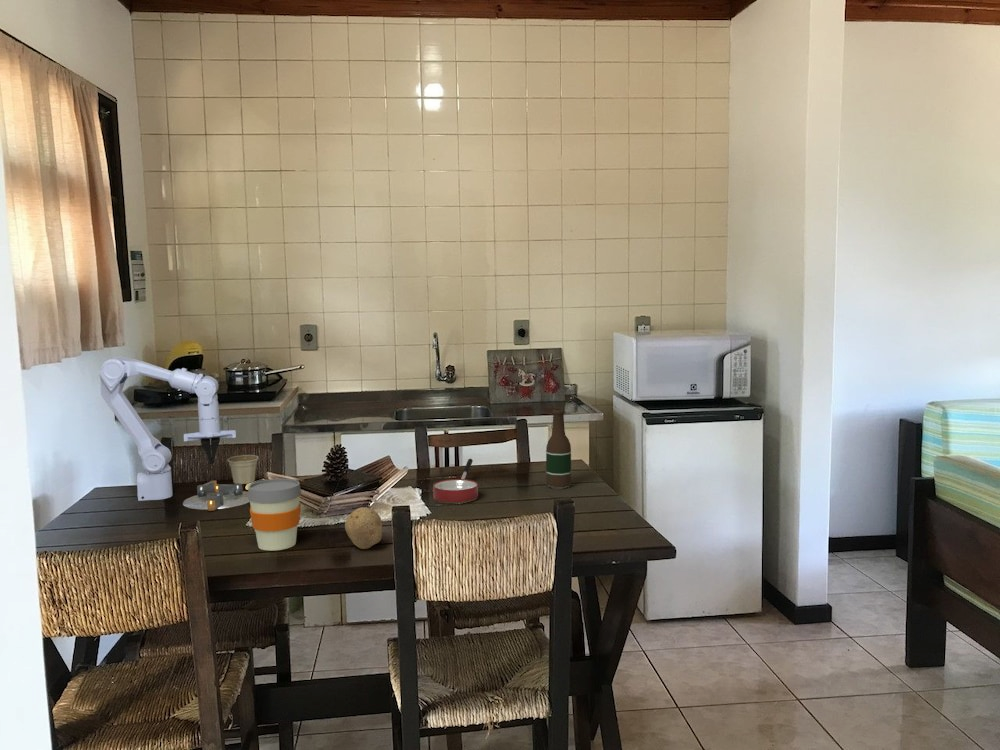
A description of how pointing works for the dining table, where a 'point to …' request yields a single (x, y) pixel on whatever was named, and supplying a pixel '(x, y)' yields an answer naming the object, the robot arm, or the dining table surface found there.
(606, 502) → the dining table surface
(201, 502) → the plate
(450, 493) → the frying pan
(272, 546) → the reusable coffee cup
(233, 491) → the knob right
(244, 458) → the flower pot
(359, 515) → the potato
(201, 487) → the knob left
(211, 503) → the knob front
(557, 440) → the beer bottle
